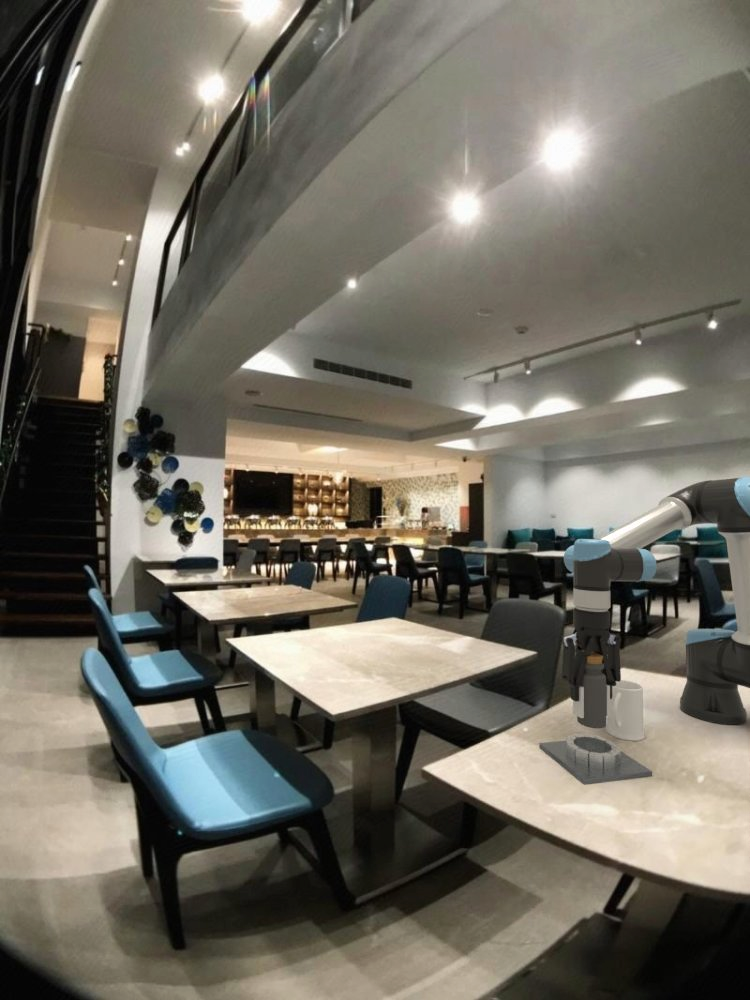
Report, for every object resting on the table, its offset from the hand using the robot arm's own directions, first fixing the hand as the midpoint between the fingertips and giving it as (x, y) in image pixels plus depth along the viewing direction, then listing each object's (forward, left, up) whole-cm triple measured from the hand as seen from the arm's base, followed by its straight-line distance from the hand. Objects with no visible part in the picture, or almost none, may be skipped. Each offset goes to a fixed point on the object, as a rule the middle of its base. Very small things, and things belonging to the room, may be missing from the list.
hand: (591, 714), depth 105 cm
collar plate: (0, 0, -10) cm, 10 cm away
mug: (-16, -10, -10) cm, 22 cm away
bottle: (0, 0, -2) cm, 2 cm away
